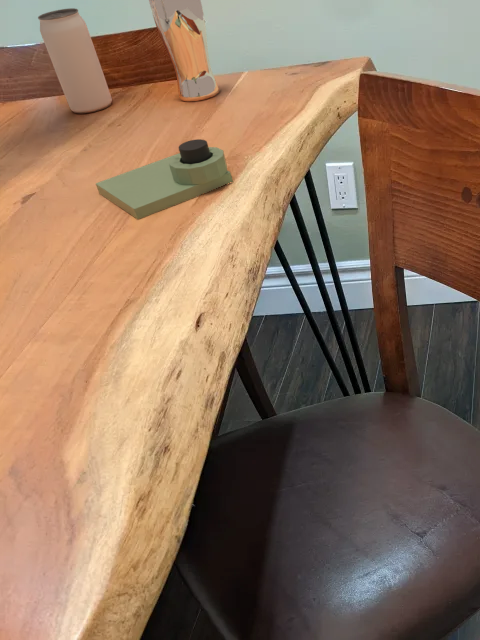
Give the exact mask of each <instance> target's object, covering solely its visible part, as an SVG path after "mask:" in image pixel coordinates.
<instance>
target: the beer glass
mask: <svg viewBox="0 0 480 640" xmlns="http://www.w3.org/2000/svg"><path fill="white" fill-rule="evenodd" d="M148 3H149V7H150V11H151V14H152V18H153V20H154V25H155V27H156V29H157V31H158V34H159V37H160V39H161V42H162V43H163V46H164V48H165V50H166V52H167V55H168V57H169V60H170V62H171V64H172V67H173V70H174V74H175V77H176V78H175V79H176V83H177V85H176V86H177V93H178V98H179V100H180V101H183V102H189V103H190V102H199V101H204V100H208V99H211V98H213V97H216V96H217V95H218V94H219V93H220V88H219V85H218V83H217V80H216V78H215V75H214V73H213V70H212V66H211V62H210V57H209V48H208V38H207V37H208V36H207V28H206V21H205V14H204V9H203V5H202V0H148Z"/></svg>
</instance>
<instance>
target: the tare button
mask: <svg viewBox="0 0 480 640" xmlns="http://www.w3.org/2000/svg"><path fill="white" fill-rule="evenodd" d="M209 147H210V146H209V144H208V141H207V140H205V139H199V138H198V139H191V140H187V141H185V142H182V143H180V144H179V146H178V151H179V153H180V155H181V158H182V161H183V164H196V163H201V162H204V161H206V160H208V159H210V158H211V155H210V151H209Z"/></svg>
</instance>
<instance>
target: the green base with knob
mask: <svg viewBox="0 0 480 640" xmlns="http://www.w3.org/2000/svg"><path fill="white" fill-rule="evenodd" d="M208 147H209V151H210V155H211V158H210V159H208V160H206V161H204V162H201V163H196V164H183V161H182V158H181V155H180V152H179V153H176V154H173V155H171V156H168V157H164V158H161V159H159V160H156V161H154V162H150V163H148V164H145V165H142V166H140V167H138V168H134V169H131V170H128V171H126V172H123V173H120V174H117V175H115V176H111V177H109V178H106V179H104V180H101V181H99V182H95V187H96V188H97V189H96V190H97V191H98V193H99V195H101V196H102V197H103V198H105V199H107V200H108V201H110V202H111V203H112V204H114V205H115V206H117V207H118V208H120V209H121V210H123V211H125V212H126V213H127V214H129V215H131V216H132V217H134V218H135V219H136V220H141V219H143V218H146V217H149V216H150V215H155V214H156V213H158V212H161V211H164V210H166V209H169V208H171V207H174V206H176V205H179V204H181V203H185V202H187V201H189V200H192V199H194V198H197V197H200V196H202V195H204V194H203V193H205V194H207V193H209V191H210V192H212V191H214V190H213V189H215V190H217V189H219V188H218V187H220V188H222V187H221V186H223V185H225V184H228V183H230V182H233V183H234V180H233V176H232V173H231V171H229V170H228V164H227V163H228V162H227V160H226V155H225V152H224V151H225V150H224V149H221V148H219V147H215V146H208ZM230 184H231V183H230ZM228 185H229V184H228ZM225 186H226V185H225ZM223 187H224V186H223ZM216 188H217V189H216ZM211 190H212V191H211ZM201 194H202V195H201ZM199 195H200V196H199ZM196 196H197V197H196Z"/></svg>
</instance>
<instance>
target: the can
mask: <svg viewBox="0 0 480 640" xmlns="http://www.w3.org/2000/svg"><path fill="white" fill-rule="evenodd" d="M37 19H38V20H39V32H40V35H41V37H42V41H43V43H44V46H45V49H46V51H47V54H48V56H49V59H50V61H51V64H52V66H53V69H54V72H55V74H56V77H57V80H58V82H59V84H60V87H61V89H62V92H63V95H64V98H65V100H66V102H67V105H68V107H69V110H71V111H72V112H73V113H75V114H83V115H84V114H91V113H96V112H100V111H102V110H104V109H107V108H108V107H110V106H111V105H112V102H113V99H112V95H111V92H110V89H109V86H108V82H107V80H106V77H105V75H104V72H103V68H102V66H101V62H100V60H99V57H98V54H97V51H96V48H95V46H94V43H93V40H92V37H91V34H90V31H89V28H88V26H87V23H86V21H85V19H84V18H83V17H82V16H81V14H80V13H79V9H78V8H75V7H74V8H73V7H72V8H70V7H69V8H62V9H56V10H52V11H48V12H45V13H41V14H40V15H38V17H37Z"/></svg>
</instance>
